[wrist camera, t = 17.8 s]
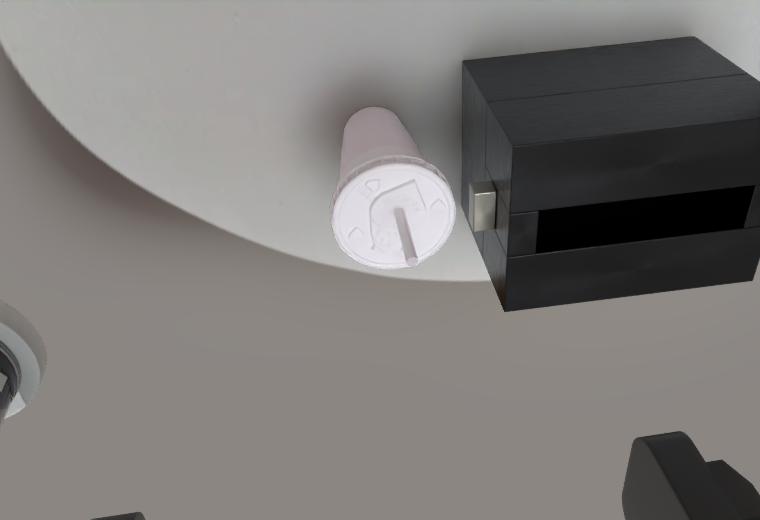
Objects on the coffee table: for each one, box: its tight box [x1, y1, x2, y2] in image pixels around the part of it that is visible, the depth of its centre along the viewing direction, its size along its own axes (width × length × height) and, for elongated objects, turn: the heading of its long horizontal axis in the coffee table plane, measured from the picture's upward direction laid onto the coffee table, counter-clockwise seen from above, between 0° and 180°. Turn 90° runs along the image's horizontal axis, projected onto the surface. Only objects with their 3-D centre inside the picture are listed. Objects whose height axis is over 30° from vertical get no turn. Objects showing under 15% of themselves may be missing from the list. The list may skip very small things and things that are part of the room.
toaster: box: [462, 37, 760, 312], centre depth 40 cm, size 15×10×11 cm, turn 94°
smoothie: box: [330, 107, 456, 269], centre depth 38 cm, size 6×6×14 cm
